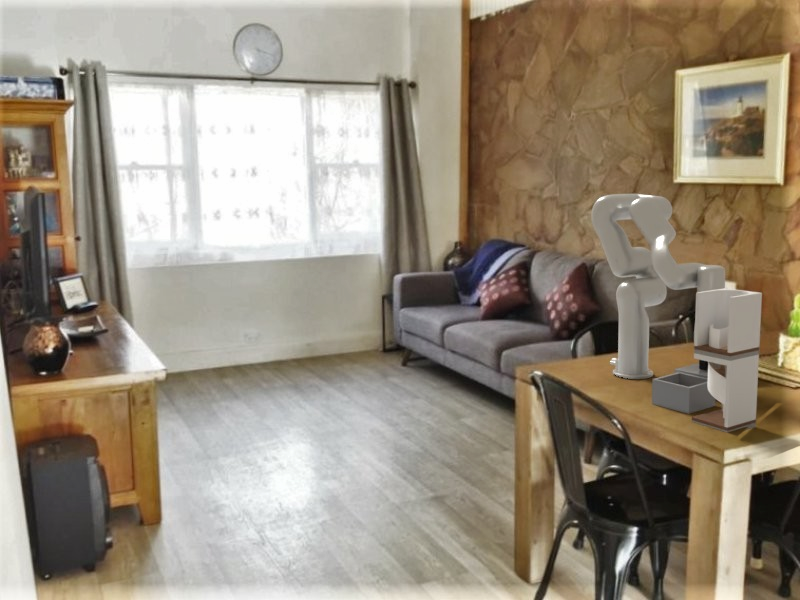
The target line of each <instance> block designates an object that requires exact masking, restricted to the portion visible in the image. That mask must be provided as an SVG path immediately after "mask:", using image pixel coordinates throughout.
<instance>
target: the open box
mask: <svg viewBox="0 0 800 600" xmlns="http://www.w3.org/2000/svg"><path fill="white" fill-rule="evenodd" d="M651 383H652V384H651V387H652V388H651V389H652V390H651V404H652V405H653V406H657V407H662V408H665V409H669V410H672V411H676V412H680V413H683V414H687V415H690V414H693V413H697V412H700V411H703V410H707V409H709V408H712V407H716V401H717V400H716V399H715V398H714V397H713V396H712V395H711V394H710V392H709V391H708V388H707V383H708V379H707V378H703V377H698V376H694V375H689V374H685V373H680V372H678V373H674V372H673V373H671V374H666V375H663V376H659V377H655V378H652V382H651Z"/></svg>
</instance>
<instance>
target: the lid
mask: <svg viewBox="0 0 800 600" xmlns="http://www.w3.org/2000/svg"><path fill="white" fill-rule="evenodd" d="M678 372H680V373H685V374H689V375H694V376H698V377H703V378H707V379H708V371H706V370H701V369H699V362H698V363H693V364H688V365H685V366H682V367H678V368H677V367H676V368H674V369H673V374H674V373H678Z"/></svg>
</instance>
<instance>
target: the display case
mask: <svg viewBox="0 0 800 600" xmlns="http://www.w3.org/2000/svg"><path fill="white" fill-rule="evenodd" d="M762 298H763V293H762V292H758V291H751V290H750V291H749V290H743V289H733V288H726V287H725V288H724V289H717V290H710V291H703V292H697V291H696V293H695V314H694V318H695V320H694V328H695V341H694V340H693V342H694V343H693V359H695V360H698V361H699V360H704V361H708V383H707V388H708V391H709V392H710V394H711V395H712V396H713V397H714V398H715V399H716V400H715V401H718V402H720V403H721V408H720V409H715V410H713V411H709V412H705V413H701V414H697V415H693V416H691V422H692V423H695V424H697V425H702V426H705V427H708V428H712V429H714V430H718V431H722V432H724V433H730V432H733V431H737V430H740V429H744V428H745V429H744V431H747V430H750V429H754V428H756V425H757V424H756V423H757V421H756V420H757V406H758V383H759V379H758V378H759V366H760V365H759V363H760V362H759V360H760V345H761V344H760V342H761V323H762V322H761V320H762V318H761V317H762V303H763V302H762V300H763V299H762Z"/></svg>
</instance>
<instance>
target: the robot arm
mask: <svg viewBox="0 0 800 600" xmlns="http://www.w3.org/2000/svg"><path fill="white" fill-rule="evenodd" d="M672 214H673V206H672V204H671V202H670V201H669V199H668V198H666V197H663V196H661V195H660V196H659V195H650V194H641V193H615V194H613V193H612V194H607V195H603V196H601V197H599V198H598V199H597V200H596V201H595V202H594V204H593V206H592V209H591V216H590V219H591V223H592V226H593V229H594V231H595V234H596V235H597V237H598V239H599V241H600V243H601V246H602V249H603V252H604V254H605V258H606V259H607V263H608V266H609V268H610V270H611V272H612V274H613V275H614V276H615V277H618V278H630V277H635V278H632V279H627V280H624V281H622V282H621V283H620V284H619V285H618V287H617V289H616V292H615V297H616V305H617V311H618V334H617V335H618V337H617V338H618V340H617V343H618V344H617V345H618V346H617V347H618V349H617V351H618V352H617V358H616V357H612V358H611V360H610V361H609V365H613V366H614V367H615V368H614V369H612V375H614V374H615V375H616V376H615V375H614V376H615V377H618V376H619V377H618V378H621V377H623V379H627V378H628V380H629V379H630V380H642V379H643V380H645V379H650V378H652V377H653V376H654V371H653V370H651V369H649V349H650V348H649V347H650V343H649V342H650V320H649V315H648V313H647V310H646V308H647V307H654V306H658V305H660V304H662V303H663V302H664V301H665V300H666V298H667V294H668V291H667V288H669V289H670V290H675V291H677V290H685V289H686V290H687V289H695V288H696V293H697V292H703V291H710V290H717V289H724V288H726V269H725V267H723V266H722V265H718V264H717V265H716V264H704V263H700V262H684V263H677V262H676V260H675V258H674V257H673V256H672V254H671V253H670V250H669V245H670V244H671V243H672V242H673V240H674V239H675V237H676V235H677V231H676V230H675V228H674V227H673V226H672V224H671V223H670V222H669V219H671V217H672ZM626 220H632V221H633V223H634V224H635V225H636V228H638V230H639V231H640V233H641V234H642V236H643V238H644V239H645V240H646V241H647V243H648V244H649V246H650V249H648V248H646V247H643V246H636V247H635V246H634V247H633V246H632V245H631V242H630V240H629V237H628V235H627V233H626V230H624V229H623V228H622V226H621V225H619V223H618V222H617V221H626ZM693 329H694V331H693V342H694V341H695V327H694V328H693ZM698 363H699V369H701V370H706V371H708V361H704V360H699V359H698Z"/></svg>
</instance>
